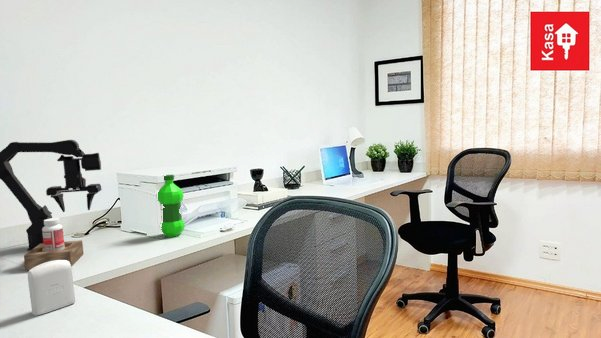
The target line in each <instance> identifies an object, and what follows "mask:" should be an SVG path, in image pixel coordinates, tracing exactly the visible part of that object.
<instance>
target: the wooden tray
mask: <svg viewBox="0 0 601 338" xmlns="http://www.w3.org/2000/svg"><path fill="white" fill-rule="evenodd" d="M64 245H65V249H64V250H59V251H47V252H45V250H44V243H43V244H39V245H38V246H36V247H35V248H34V249H32V250H28V252H27V253H25V254H24V255H23V258H24V269H25V271H26V270H30V269H32V268H34V267H36V266H38V265H40V264H43V263H46V262H49V261H54V260H67V261H69V262H70V264H71V268H72V267H73V266H74V264H76V262H78V261H79V260H80V259H81V257H83V255H85V254H84V243H83V239H82V240H80V239H79V240H69V241H64Z"/></svg>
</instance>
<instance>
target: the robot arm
mask: <svg viewBox="0 0 601 338" xmlns="http://www.w3.org/2000/svg"><path fill="white" fill-rule="evenodd" d="M18 153H55V154H58V155H59V154H60V156H59V158H58V159H57V162H63V172H64V175H63V179H64V181H65V186H64V187H62V186H61V185H54V186H53V185H52V186H49V187H47V188H46V190H45V193H46V196H48V197H49V196H50V198H53V200H54V201H55V202H56V204H58V205H57V206H59V208H60V209H61V211H62V212H63V213H65V212H66V207H65V201H64V193H75V192H77V193H78V192H88V193H86V205H87V207H86V208H87V211H90V210H91V206H92V204H93V200H94V197H95V195H97V194H98V193H100V192H101V191H102V186H101V184H100V183H90V184H88V185H87V183H86V182H87V181H86V179H87V178H84V177H83V175H82V172H81V171H82V169H83V170H84V171H85V172H87V171H88V172H89V171H90V172H91V171H101V170H102V161H101V157H100V153H99V152H95V153H85V152H84V151H83V150H82V149H81V148H80V145H79V143H78V142H77V141H76V140H74V139H65V140H60V141H54V142H44V141H43V142H42V141H41V142H40V141H39V142H33V141H32V142H31V141H30V142H29V141H28V142H27V141H26V142H22V141H20V142H18V141H12V142H10V143H9V144H8V145H7V146H5V147H4V148H3V149H2V150H0V180H1V181H2V182H3V183H4V184H5V186H6V187H7V188H8V189H9V191H10V192H11V193H12V194H13V196H14V197H15V198H16V199H17V200H18V202H19V203H20V204H21V206H22V207H23V208H24V209H25V210H26V213H27V216H28V219H29V220H30V223H31V224H30V226H28V227H27V228H26V230H25V231H26V233H27V242H28V248H27V249H26V250H27V251H31V250H32V249H34V248H35V247H36V246H38V245H39V244H43V243H44V242H43V233H42V228H43V227H44V226H45V225H44V220H46V219H50V218H53V215H52V214H53V212H51V211H50V210H49V208H48V206H47V205H45V204H44V205H43V206H41V205H40V204H38V202H37V201H36V200H35V199H34V198H33V197H32V195H31V194H30V193H29V191H28V190H27V189H26V188H25V186H24V185H23V184H22V183H21V181H20V180H19V179H18V177H17V176H16V175H15V172H14V170H13V167H12V164H11V163H10V162H11V161H12V160H13V159H14V158H15V156H16V155H18ZM74 157H75V158H74ZM86 185H87V186H86Z"/></svg>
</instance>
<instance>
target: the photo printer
mask: <svg viewBox="0 0 601 338" xmlns="http://www.w3.org/2000/svg"><path fill="white" fill-rule="evenodd" d="M72 269H73V268H72V267H71V264H70V262H69V261H67V260H54V261H49V262H46V263H43V264H40V265H38V266H36V267H34V268H32V269H30V270H29V271H27V281H28V289H29V290H28V291H29V298H30V307H31V313H32V315H33V316H40V315H43V314H46V313H51V312H53V311H55V310H59V309H61V308H64V307H67V306H69V305H72V304H75V303H76V294H75V286H74V278H73V277H74V276H73V270H72Z"/></svg>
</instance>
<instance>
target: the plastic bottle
mask: <svg viewBox="0 0 601 338" xmlns="http://www.w3.org/2000/svg"><path fill="white" fill-rule="evenodd" d="M165 175H166V176H164V175H163V176H164V180H163V181H164V184H163V185H162V186H160V188H159V189H160V190H159V189H158V190H159V192H158V200H157V202H158V201H159V202H158V203H160V205H161V204H163V206H164V207H165V208H163V223H162V227H161V228H162V229H160V231H161V230H162V231H161V233H162V232H163V233H164V235H165V236H166V237H167V238H171V237H172V238H174V237H177V236H178V237H179V236H180V234H182V232H183V231H184V229H185V227H186V226H185V225H186V224H185V222H184V220H183V219H182V213H181V214H180V213H179V209H180V207H181V208H182V205H181V204H182V203H181V202H182V201H183V200H184V192H183V189H182V188H180V187H179V186H177V185H176V184H175V183H174V180H175V174H165ZM163 233H162V234H163Z"/></svg>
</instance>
